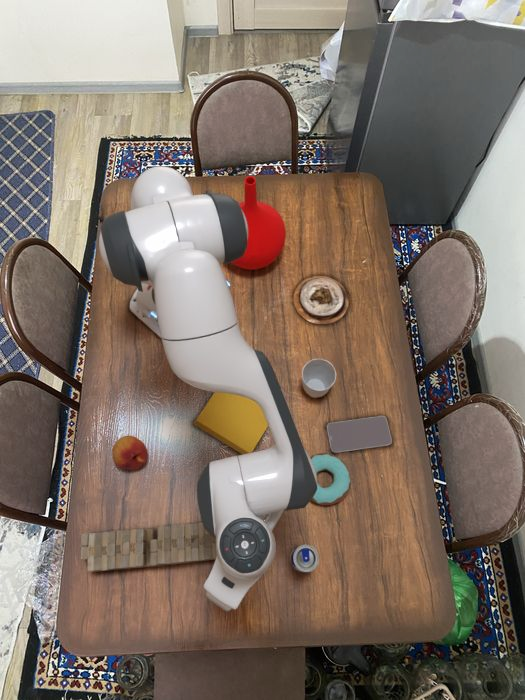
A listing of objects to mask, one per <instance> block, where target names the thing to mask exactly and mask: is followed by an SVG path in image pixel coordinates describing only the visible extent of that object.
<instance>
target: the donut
mask: <svg viewBox="0 0 525 700" xmlns="http://www.w3.org/2000/svg"><path fill="white" fill-rule="evenodd" d="M309 457H310V458H311V460H312V463H313V465H314V468H315V471H316V475H317V476H318V474H319V473H320V472H322V471H327V472H329V473H330V474H331V475H332V479H333V480H332V483H331V484H330V485H329V486H326V487H324V486H321V485H320V484H319V482H318V481H317V491H316V493H315V495H314V496H313V498H312V499H311V501H310V502H313V503H314V504H317V505H320V506H332V505H333V506H334V505H335V504H338V503H339V502H341V501H342V500H343V499H344V498H345V497H347V495H348V493H349V490H350V487H351V481H352V480H351V474H350V471H349V469H348V466H347V465H346V463H345V462H344V461H343V460H342V459H341V458H340V457H338V456H336V455H334V454H331V453H327V452H322V453H316V454H313V455H311V456H309Z"/></svg>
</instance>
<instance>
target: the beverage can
mask: <svg viewBox="0 0 525 700" xmlns="http://www.w3.org/2000/svg"><path fill="white" fill-rule="evenodd" d="M319 561H320V557H319V553H318V551H317V549H316V548H315V547H314V546H313V545H310V544H301V545H299V546H297V547H296V548H294V549H293V550H292V551H291V553H290V555H289V563H290V566H291V567H292V569H293V570H295V571H296V572H299V573H310V572H312V571H314V570H315V569H316V568H317V567H318V565H319Z"/></svg>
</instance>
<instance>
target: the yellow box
mask: <svg viewBox="0 0 525 700" xmlns="http://www.w3.org/2000/svg"><path fill="white" fill-rule="evenodd" d="M192 424H193V426H195V427H197V428H198V429H200V430H201V431H203V432H204V433H207V434H208V435H209V436H211V437H213V438H214V439H216V440H218V441H219V442H221V443H222V444H224V445H226V446H227V447H229V448H231V449H232V450H234V451H236V452H237V453H239V454H240V455H244V454H248V453H253V452H254V450H255V449H256V447H257V445H258V444H259V442H260V440H261V439H262V438H263V435H264V434H265V432H266V431H267V429H268V428H269V427H268V424H267V422H266V419H265V417H264V414H263V412H262V409H261V407H260V406H259V405H258V404H257V403H256V402H255V401H253V400H251V399H249V398H246V397H243V396H239V395H234V394H228V393H220V392H213V394H212V396H211V397H210V399H208V401H207V403H206V404H205V406H204V407H203V409H202V410H201V412H200V413H199V415H198V416H197V417H196V419H195V420H194V422H193V423H192Z"/></svg>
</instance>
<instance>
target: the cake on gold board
mask: <svg viewBox="0 0 525 700" xmlns="http://www.w3.org/2000/svg"><path fill="white" fill-rule="evenodd" d="M293 306H294V308H295V310H296V312H297V313H298V314H299V315H300V316H301V317H302V318H303V319H304V320H305V321H308V322H309V323H311V324H316V325H329V324H332V323H335V322H337V321H338V320H340V319H341V318H342V317H343V316H344V315H345V314H346V312H347V310H348V307H349V295H348V293H347V290H346V289H345V287H344V286H343V284H341V283H340V282H339V281H337V280H336V279H334V278H332V277H330V276H326V275H313V276H310V277H307V278H305V279H304V280H302V281H301V282H300V283H299V284H298V285H297V286H296V287H295V290H294V292H293Z"/></svg>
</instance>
